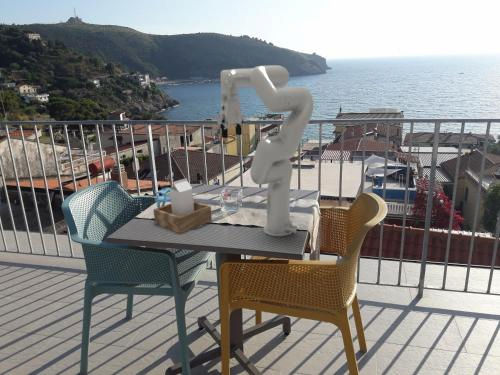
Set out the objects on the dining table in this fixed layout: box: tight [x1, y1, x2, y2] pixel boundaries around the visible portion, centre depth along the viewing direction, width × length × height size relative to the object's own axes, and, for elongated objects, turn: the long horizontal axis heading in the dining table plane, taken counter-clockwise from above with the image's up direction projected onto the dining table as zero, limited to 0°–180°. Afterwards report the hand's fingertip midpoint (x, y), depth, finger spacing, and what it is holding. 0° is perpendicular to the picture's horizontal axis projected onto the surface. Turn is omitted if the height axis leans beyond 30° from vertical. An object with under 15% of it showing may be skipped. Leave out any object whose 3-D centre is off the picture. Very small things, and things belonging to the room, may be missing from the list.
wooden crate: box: [153, 200, 213, 235], centre depth 172 cm, size 18×18×7 cm
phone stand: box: [154, 187, 171, 208], centre depth 185 cm, size 8×8×12 cm
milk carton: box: [169, 177, 194, 217], centre depth 169 cm, size 7×7×19 cm
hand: (231, 136), depth 176 cm, fingers open, 9 cm apart
